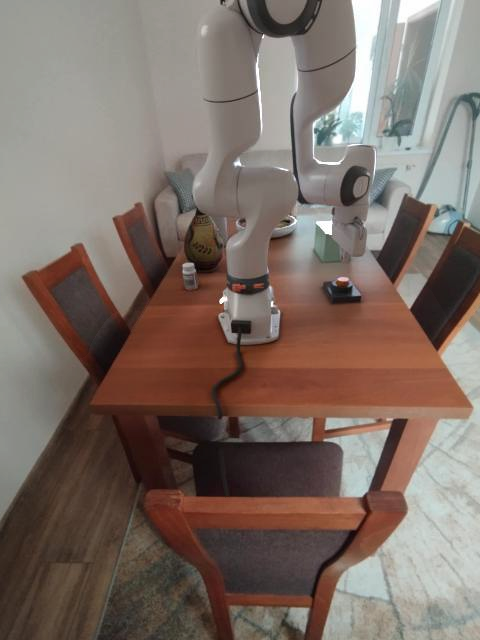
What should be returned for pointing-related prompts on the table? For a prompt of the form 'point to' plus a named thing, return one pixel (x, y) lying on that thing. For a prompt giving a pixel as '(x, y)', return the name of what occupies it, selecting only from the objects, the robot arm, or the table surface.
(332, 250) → the pale green box
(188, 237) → the ceramic jug
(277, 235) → the bowl
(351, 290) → the black button base
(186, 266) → the pill bottle
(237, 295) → the robot arm
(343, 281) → the button
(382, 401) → the table surface
